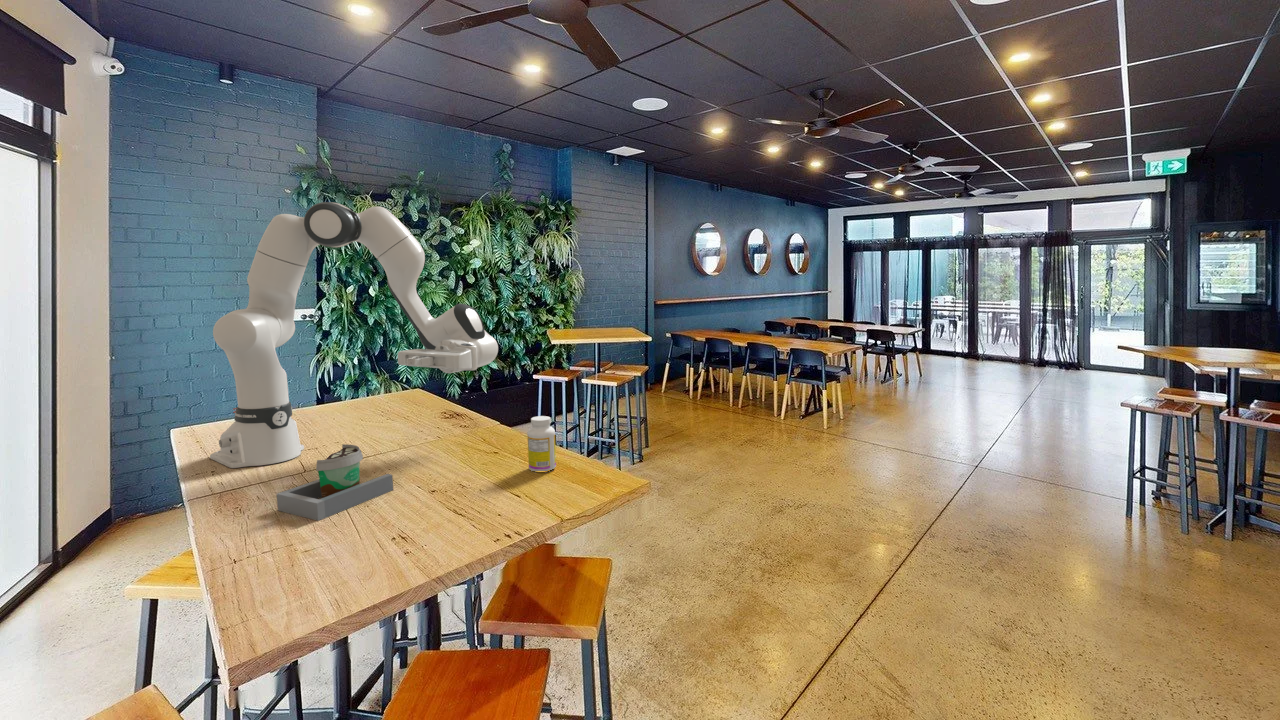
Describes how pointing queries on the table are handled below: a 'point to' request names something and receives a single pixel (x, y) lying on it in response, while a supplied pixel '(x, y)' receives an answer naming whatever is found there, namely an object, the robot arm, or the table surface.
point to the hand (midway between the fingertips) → (410, 362)
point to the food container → (339, 470)
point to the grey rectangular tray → (330, 498)
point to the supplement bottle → (541, 444)
